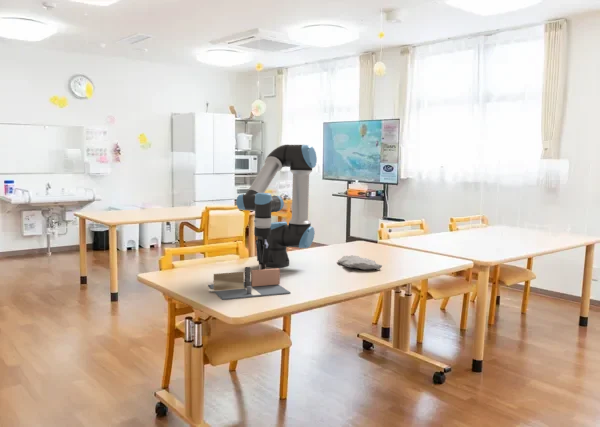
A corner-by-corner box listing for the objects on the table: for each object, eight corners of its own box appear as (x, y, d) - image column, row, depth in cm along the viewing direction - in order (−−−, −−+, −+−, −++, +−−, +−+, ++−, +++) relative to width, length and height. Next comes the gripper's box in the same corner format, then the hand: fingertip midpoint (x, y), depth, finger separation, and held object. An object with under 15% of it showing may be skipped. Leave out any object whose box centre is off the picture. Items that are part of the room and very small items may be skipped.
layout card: (204, 286, 234) (204, 278, 234) (271, 280, 247) (271, 273, 247) (217, 300, 212) (217, 291, 212) (290, 293, 225) (290, 285, 225)
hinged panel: (251, 285, 233) (251, 270, 233) (278, 283, 239) (278, 268, 238) (252, 286, 232) (252, 271, 231) (279, 284, 237) (279, 269, 236)
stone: (384, 270, 275) (353, 259, 301) (384, 260, 274) (353, 250, 301) (356, 274, 267) (327, 263, 294) (356, 264, 266) (327, 254, 293)
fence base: (213, 289, 227) (213, 269, 226) (249, 286, 233) (249, 266, 232) (214, 290, 225) (214, 270, 224) (250, 287, 231) (250, 267, 230)
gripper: (250, 225, 242) (249, 275, 245) (259, 229, 231) (258, 281, 233) (265, 224, 245) (265, 274, 248) (275, 228, 234) (274, 280, 236)
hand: (262, 277), depth 241 cm, fingers closed
